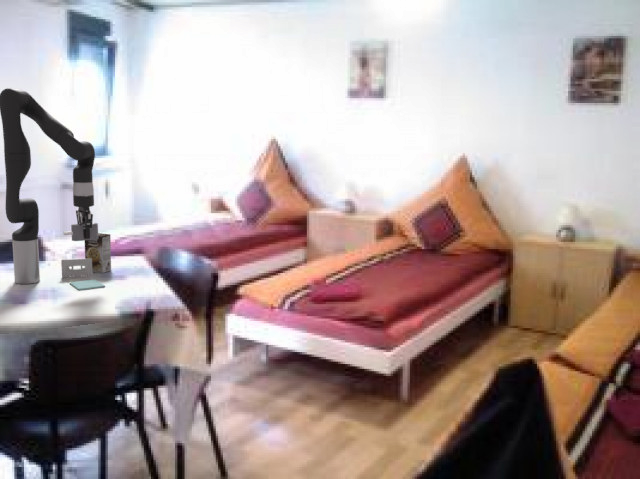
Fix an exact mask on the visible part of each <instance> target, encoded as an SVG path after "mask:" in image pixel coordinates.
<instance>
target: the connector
mask: <svg viewBox="0 0 640 479" xmlns="http://www.w3.org/2000/svg"><path fill="white" fill-rule="evenodd" d="M87 225H88V223H87ZM70 226H71V230H69V231H63V236H70V235H71V242H80V241H81V242H82V241H83V242H85V240H96V239H98V233H99V223H97V222H92V228H91V229H90V238H89V239H84V229H83V224H77V223H73V224H71V225H70Z"/></svg>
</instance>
